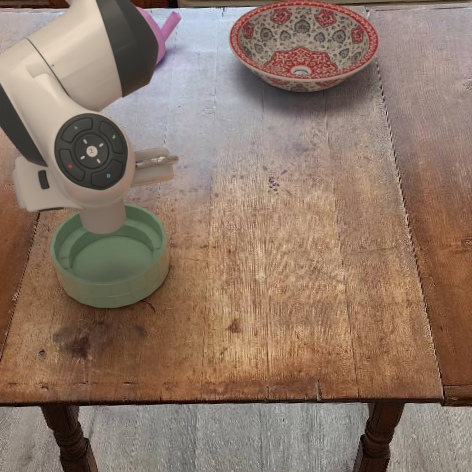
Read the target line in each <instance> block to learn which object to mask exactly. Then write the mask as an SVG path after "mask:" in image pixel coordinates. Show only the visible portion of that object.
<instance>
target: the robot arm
mask: <svg viewBox="0 0 472 472" xmlns="http://www.w3.org/2000/svg"><path fill="white" fill-rule="evenodd" d="M64 1H65V2H66V3H67V4H68V5H69V8H68V9H67V10H66V11H64V13H62V14H61V15H59V16H57V17H56V18H54V19H53V20H51V21H50V22H48V23H47V24H45V25H44V26H42V27H40V28H39V29H37V30H36V31H35V32H33V33H31V34H30V35H28V36H27V37H23V38H22V39H21V40H19V41H17V42H16V43H14V44H13V45H11V46H10V47H8V48H6V49H5V50H4V51H2V52H1V53H0V128H1V130H2V132H3V133H4V134H5V135H6V137H7V138H8V140H9V141H10V142H11V143H12V144H13V146H14V147H15V148H16V149H17V151H18V152H19V153H20V156H17V157H16V158H15V159H14V165H15V167H14V169H13V170H12V172H11V180H12V184H13V189H14V193H15V197H16V200H17V204H18V207H19V208H20V209H22V210H25V209H26V212H28V213H43V212H50V211H60V210H61V211H62V210H76V211H79V210H85V209H87V210H93V211H99V210H105V209H108V208H111V207H113V206H115V205H116V204H118V203H119V202H120V201H121V200H122V199H123V200H124V198H125V197H126V195H127V194H128V191H130V189H133V188H137V187H143V186H148V185H154V184H158V183H164V182H168V181H171V180H173V179H174V178H175V172H174V167H173V166H174V165H177V164H178V163H179V160H180V157H179V156H178V154H173V155H171V153H170V150H169V149H168V148H166V147H155V148H147V149H142V150H141V149H140V150H136V151H135V149H134V146H133V143H132V141H131V138H130V137H129V135H128V133H127V132H126V130H125V129H124V128H123V127H122V125H121V124H120V123H118V122H117V121H116V120H115V119H114V118H113V117H111V116H109V115H108V114H105V113H103V112H101V111H103V110H105V109H106V108H107V107H109V106H110V105H112V104H113V103H115V102H116V101H118V100H120V99H121V98H123V99H124V98H126V97H127V96H129V95H131V94H133V93H135V92H137V91H139V90H140V89H142V88H144V87H146V86H148V85H149V84H150V83H151V80H152V78H153V76H154V72H155V70H156V68H157V67H156V66H157V65H156V63H157V58H158V50H159V45H158V41H157V39H156V37H155V34H154V32H153V30H152V28H151V26H150V24H149V22H148V21H147V19H146V18H145V17H144V15H143V14H142V13H141V12H140V11H139V9H138V8H137V7H138V6H136V5H135V4H133V2H131V0H64Z"/></svg>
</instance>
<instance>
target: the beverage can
mask: <svg viewBox="0 0 472 472" xmlns="http://www.w3.org/2000/svg"><path fill="white" fill-rule="evenodd" d="M78 211H79V214H80V218H81V222H82V225H83V227H84V228H85V229H86V230H87V231H89V232H91V233H94V234H110V233H113V232H115V231H117V230H118V229H119V228H121V227H122V226H123V224H124V223H125V220H126V212H125V207H124V198H123V199H122V200H121V201H120V202H119V203H118V204H116V205H115V206H113V207H111V208H108V209H105V210H99V211H93V210H87V209H85V210H78Z"/></svg>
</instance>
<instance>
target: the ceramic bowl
mask: <svg viewBox="0 0 472 472" xmlns="http://www.w3.org/2000/svg"><path fill="white" fill-rule="evenodd" d="M228 45H229V48H230V50H231V52H232V54H233V56H234V57H235V58H236V59H237V60H238V61H239V62H240V63H241V64H242V65H244V66H246V67H247V68H248V69H249V70H250V71H251V72H252V74H254V75H255V76H256V77H258V78H259V79H260V80H261V81H263V82H265V83H267V84H268V85H270V86H273V87H275V88H278V89H281V90H284V91H288V92H294V93H295V92H297V93H311V92H319V91H325V90H327V89H330V88H333V87H335V86H338V85H339V84H342V83H343V82H345V81H347V80H348V79H349V78H350V77H352V76H353V75H355V74H356V73H357V72H359V71H361V70H363V69H365V68H366V67H367V66H368V65H369V64H371V62H373V60H374V59H375V58H376V56H377V54H378V52H379V49H380V37H379V34H378V32H377V30H376V28H375V27H374V25H373V24H372V23H371V22H370V21H369V20H368V19H367V18H365V17H364V16H363V15H361V14H360V13H357V12H356V11H354V10H352V9H350V8H347V7H345V6H342V5H339V4H335V3H331V2H327V1H319V0H281V1H275V2H274V1H273V2H270V3H266V4H264V5H260V6H257V7H255V8H252V9H250V10H248V11H247V12H245V13H244V14H243V15H241V16H240V17H239V18H237V19H236V21H235V22H234V23H233V25H232V26H231V28H230V30H229V34H228ZM298 71H304V72H307V74H299V73H297V74H296V73H295V72H298Z"/></svg>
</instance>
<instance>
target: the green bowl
mask: <svg viewBox="0 0 472 472" xmlns="http://www.w3.org/2000/svg"><path fill="white" fill-rule="evenodd" d="M124 207H125V212H126V220H125V223H124V224H123V226H122V227H121V228H119V229H118V230H117V231H115V232H113V233H110V234H94V233H91V232H89V231H87V230H86V229H85V228H84V227H83V225H82V222H81V218H80V214H79V210H76V211H75V212H73V213H72V214H71V215H69V216H68V217H67V218H65V219H64V220H63V221H62V222H61V223H60V224H59V225H58V227H57V228H56V229H55V231H54V232H53V234H52V236H51V241H50V245H49V251H50V256H51V262H52V264H53V267H54V270H55V274H56V277H57V280H58V283H59V285H60V286H61V288H62V289H63V290H64V292H65V293H66V294H67V296H69V297H70V298H72V299H74V300H75V301H77V302H78V303H80V304H83V305H86V306H90V307H93V308H97V309H116V308H121V307H125V306H130V305H134V304H136V303H137V302H139V301H141V300H143V299H146V298H148V297H149V296H151V295H152V294H153V293H154V292H155V291H156V290H157V289H159V287H161V286H162V285H163V283H164V282H165V280H166V277H167V275H168V274H169V270H170V261H171V258H170V251H169V241H168V234H167V232H166V228H165V225H164V223H163V222H162V221H161V220H160V219H159V217H158V216H157V215H156V214H155V213H154V212H152V211H151V210H148V209H146V208H145V207H143V206H141V205H138V204H133V203H129V202H126V201H125V202H124Z"/></svg>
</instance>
